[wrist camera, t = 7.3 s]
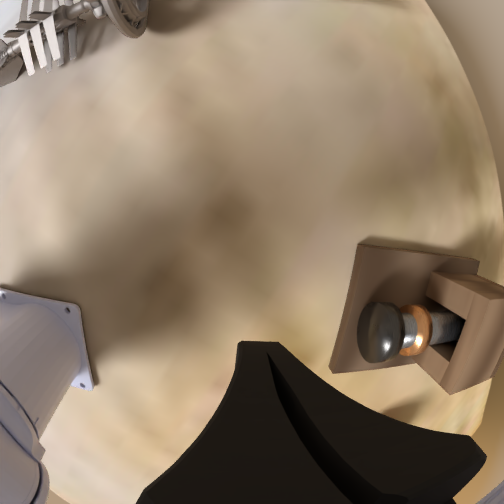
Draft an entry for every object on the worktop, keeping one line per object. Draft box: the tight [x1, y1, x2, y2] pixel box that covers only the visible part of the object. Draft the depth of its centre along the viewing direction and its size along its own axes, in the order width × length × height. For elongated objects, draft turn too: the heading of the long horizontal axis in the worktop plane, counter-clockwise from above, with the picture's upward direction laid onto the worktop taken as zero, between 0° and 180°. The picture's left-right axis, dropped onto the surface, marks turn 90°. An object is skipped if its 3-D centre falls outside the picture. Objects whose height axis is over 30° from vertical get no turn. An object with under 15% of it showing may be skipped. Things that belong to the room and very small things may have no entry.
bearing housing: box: [329, 244, 504, 395], centre depth 17 cm, size 14×10×8 cm
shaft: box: [357, 302, 466, 363], centre depth 17 cm, size 12×4×4 cm, turn 83°
